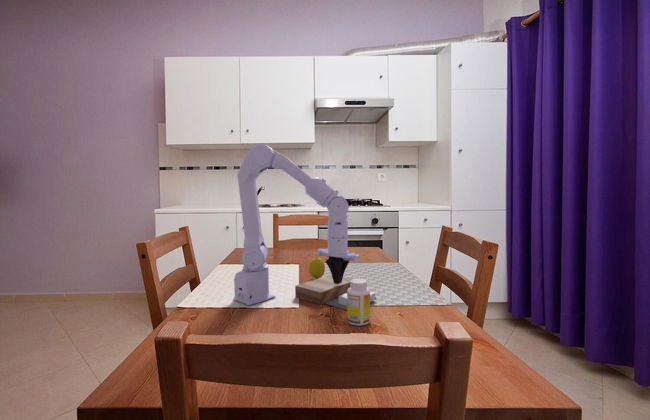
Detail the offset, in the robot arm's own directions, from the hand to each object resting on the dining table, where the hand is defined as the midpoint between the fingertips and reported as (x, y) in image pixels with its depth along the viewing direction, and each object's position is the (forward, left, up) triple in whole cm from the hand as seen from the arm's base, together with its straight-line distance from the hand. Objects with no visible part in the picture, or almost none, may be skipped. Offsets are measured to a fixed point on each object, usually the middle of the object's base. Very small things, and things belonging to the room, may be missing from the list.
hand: (337, 283), depth 109 cm
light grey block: (0, -7, -2) cm, 7 cm away
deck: (0, +4, -4) cm, 6 cm away
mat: (0, -5, -4) cm, 7 cm away
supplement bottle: (-11, -16, -4) cm, 20 cm away
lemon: (+10, +17, -4) cm, 21 cm away
